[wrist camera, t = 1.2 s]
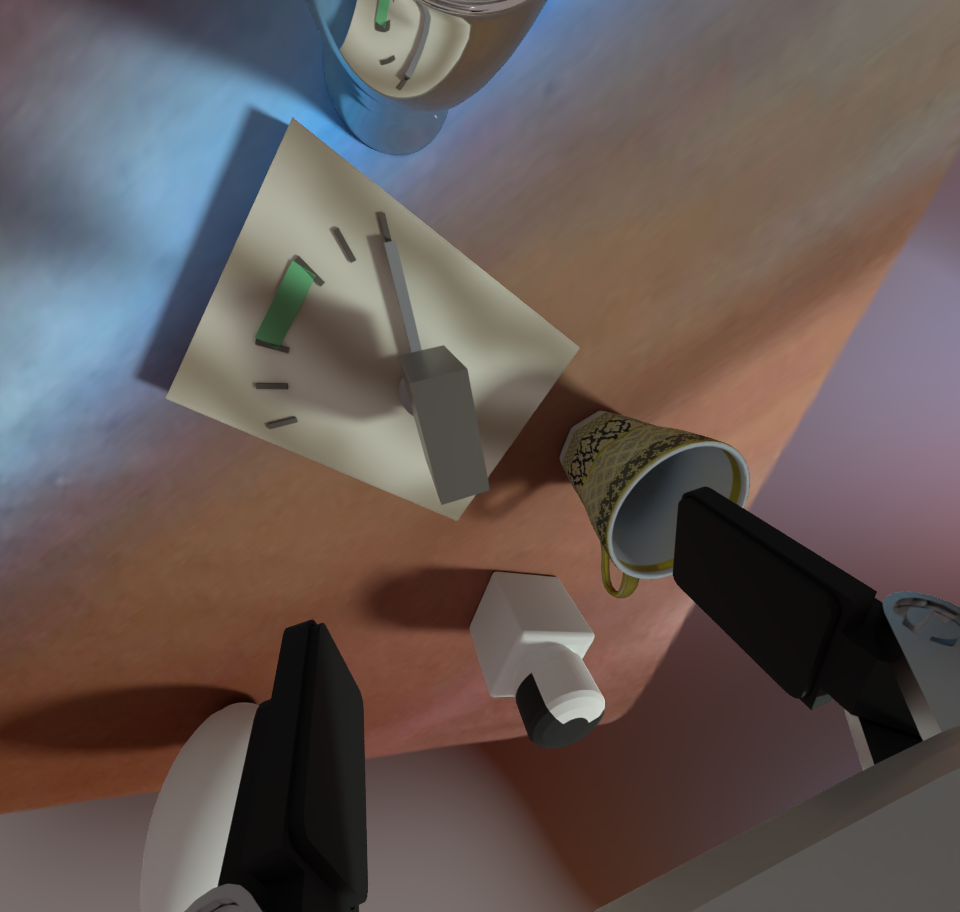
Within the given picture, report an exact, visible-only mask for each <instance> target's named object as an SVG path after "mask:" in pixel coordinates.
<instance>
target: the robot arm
mask: <svg viewBox="0 0 960 912" xmlns="http://www.w3.org/2000/svg"><path fill="white" fill-rule="evenodd" d="M673 577H674V580H675V582H676V583H677V585H678V586H679V587H680V588H681V589H682V590H683V591H684V592H685V593H686V594H687V595H688V596H689V597H690V598H691V599H692V600H693V601H694V602H695V603H696V604H697V605H698V606H699V607H700V608H701V609H702V610H703V611H704V612H705V613H707V615H708V616H709V617H711V618H712V620H713V621H714V622H716V623H717V624H718V625H719V626H720V627H721V628H722V629H723V630H724V631H725V632H726V633H727V634H728V635H729V636H730V637H731V638H732V639H733V640H734V641H735V642H736V643H737V644H738V645H739V646H740V647H741V648H742V649H743V650H744V651H745V652H746V653H747V654H748V655H749V656H750V657H751V658H752V659H753V660H754V661H755V662H756V663H757V664H758V665H759V666H760V667H761V668H762V669H763V670H764V671H765V672H766V673H767V674H768V675H769V676H770V677H771V678H772V679H773V680H774V681H775V682H777V684H778V685H779V686H781V687H782V689H784V690H785V691H786V692H787V693H788V694H789V695H791V696H792V697H794V698H799V699H800V700H801V701H802V702H804V704H805V705H807V706H808V707H809V708H810V709H811V710H813V709H815V708H817V707H819V706H821V705H823V704H825V703H828V702H830V701H831V699H832V698H833V699H834V700H835V701H837V702H838V703H839V704H840V705H841V706H842V707H843V708H844V710H845V714H846V717H847V721H848V724H849V727H850V730H851V733H852V736H853V740H854V743H855V746H856V750H857V753H858V756H859V759H860V763H861V766H862V769H863V771H862V772H860V773H858V774H856V775H854V776H852V777H850V778H848V779H846V780H844V781H842V782H840V783H838V784H837V785H835V786H833V787H831V788H829V789H827V790H825V791H823V792H821V793H819V794H817V795H815V796H813V797H811V798H809V799H807V800H805V801H803V802H802V803H800V804H798V805H796V806H794V807H792V808H790V809H788V810H786V811H784V812H782V813H781V814H778V815H776V816H775V817H773V818H771V819H769V820H767V821H765V822H763V823H761V824H759V825H757V826H755V827H753V828H751V829H750V830H748V831H746V832H744V833H742V834H740V835H738V836H736V837H734V838H732V839H730V840H729V841H727V842H725V843H723V844H721V845H719V846H717V847H715V848H713V849H711V850H709V851H707V852H706V853H704V854H702V855H700V856H698V857H696V858H694V859H692V860H690V861H688V862H686V863H685V864H683V865H681V866H679V867H677V868H675V869H673V870H671V871H669V872H667V873H665V874H664V875H662V876H660V877H658V878H656V879H654V880H652V881H650V882H648V883H646V884H645V885H643V886H641V887H639V888H637V889H635V890H633V891H631V892H629V893H627V894H626V895H624V896H622V897H620V898H618V899H616V900H614V901H613V902H611V903H609V904H607V905H605V906H603V907H601V908H599V909H597V910H596V911H594V912H960V607H958V606H956V605H954V604H952V603H950V602H948V601H945V600H943V599H940V598H937V597H934V596H930V595H926V594H921V593H916V592H898V593H892V594H891V595H889V596H887V597H886V598H885V600H884V602H883V603H882V602H880V601H879V600H877V599H876V598H874V597H875V595H876V593H877V592H876V591H875V590H873V589H872V588H870V587H868V586H867V585H865V584H864V583H862V582H860V581H859V580H857V579H856V578H854V577H853V576H851V575H849V574H848V573H846V572H844V571H843V570H841V569H840V568H838V567H836V566H835V565H833V564H831V563H830V562H829V561H827V560H825V559H824V558H822V557H821V556H819V555H817V554H816V553H814V552H813V551H811V550H809V549H808V548H806V547H804V546H803V545H801V544H800V543H798V542H796V541H795V540H793V539H792V538H790V537H788V536H787V535H785V534H784V533H782V532H780V531H779V530H777V529H776V528H774V527H772V526H771V525H769V524H768V523H766V522H764V521H763V520H761V519H760V518H758V517H756V516H755V515H753V514H752V513H750V512H748V511H747V510H745V509H744V508H742V507H740V506H739V505H737V504H736V503H734V502H732V501H731V500H729V499H728V498H726V497H724V496H723V495H721V494H720V493H718V492H716V491H715V490H713V489H712V488H709V487H705V486H704V487H701V488H698V489H695V490H692V491H689V492H686V493H684V494H683V495H682V499H681V500H680V501H679V503H678V512H677V524H676V537H675V550H674V562H673ZM367 893H368V870H367V829H366V789H365V749H364V709H363V700H362V696H361V692H360V690H359V688H358V686H357V684H356V682H355V681H354V679H353V677H352V675H351V673H350V671H349V669H348V667H347V665H346V663H345V661H344V660H343V658H342V656H341V654H340V652H339V650H338V648H337V646H336V644H335V642H334V640H333V639H332V637H331V635H330V633H329V631H328V629H327V627H326V625H325V624H324V623H320V624H318V625H317V624H316V622H315V621H314V620H309V621H306V622H303V623H300V624H297V625H294V626H291V627H288V628H286V629H285V631H284V634H283V638H282V644H281V649H280V654H279V660H278V665H277V670H276V676H275V681H274V686H273V692H272V697H271V699H270V700H267V701H265V702H263V703H261V704H260V705H259V707H258V708H257V710H256V713H255V717H254V720H253V725H252V729H251V734H250V739H249V743H248V748H247V753H246V757H245V762H244V766H243V771H242V776H241V780H240V785H239V789H238V794H237V799H236V803H235V808H234V812H233V817H232V822H231V826H230V831H229V835H228V840H227V845H226V849H225V854H224V858H223V863H222V868H221V872H220V877H219V882H218V886H217V887H216V888H213V889H211V890H210V891H208V892H207V893H205V894H204V895H202V896H201V897H199V898H198V899H197V900H195V901H194V902H193V903H192V904H191V905H190V906H189V907H188V908H187V909H186V910H185V911H184V912H359V904H361V903H364V902H365V901H366V899H367Z"/></svg>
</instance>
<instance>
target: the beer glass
mask: <svg viewBox="0 0 960 912" xmlns="http://www.w3.org/2000/svg"><path fill="white" fill-rule="evenodd" d="M305 1H306V4H307V6H308V8H309V11H310V13H311V15H312V18H313V20H314V22H315V25H316V27H317V29H318V31H319V33H320V35H321V37H322V39H323V41H324V48H323V66H324V74H325V80H326V84H327V88H328V91H329V94H330V97H331V99H332V102H333V104H334V106H335V108H336V110H337V112H338V114H339V116H340V117H341V119H342V120H343V122H344V123H345V124H346V126H347V127H348V128H349V129H350V130H351V132H352V133H353V134H354V135H355V136H356V137H357V138H359V139H360V140H361V141H362V142H364V143H365V144H366V145H368V146H369V147H371V148H373V149H375V150H377V151H380V152H382V153H386V154H390V155H407V154H411V153H415V152H417V151H419V150H421V149H423V148H424V147H426V146H427V145H428V144H430V143H431V142H432V141H433V140H434V138H435V137H436V136H437V135H438V133H439V132H440V130H441V128H442V126H443V124H444V122H445V119H446V117H447V114H448V111H449V109H451V108H453V107H455V106H457V105H459V104H460V103H462V102H464V101H465V100H467V99H468V98H470V97H471V96H472V95H474V94H475V93H477V92H478V91H479V90H481V89H482V88H483V87H484V86H485V85H486V84H487V83H488V82H489V81H490V80H491V79H492V78H493V77H494V76H495V74H496V73H497V72H498V71H499V70H500V69H501V68H502V67H503V66H504V64H505V63H506V62H507V61H508V60H509V59H510V57H511V56H512V55H513V53H514V52H515V50H516V49H517V48H518V46H519V45H520V43H521V42H522V40H523V39H524V37H525V36H526V35H527V33H528V32H529V30H530V29H531V27H532V26H533V24H534V22H535V21H536V19H537V17H538V16H539V14H540V12H541V11H542V9H543V7H544V6H545V4H546V2H547V0H305Z"/></svg>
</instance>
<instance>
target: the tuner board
mask: <svg viewBox="0 0 960 912" xmlns="http://www.w3.org/2000/svg"><path fill="white" fill-rule="evenodd" d="M391 241H396V244H397V248H398V252H399V256H400V260H401V265H402V269H403V273H404V277H405V282H406V286H407V290H408V294H409V298H410V303H411V307H412V311H413V315H414V319H415V324H416V328H417V332H418V336H419V340H420V345H421V349H422V350H425V349H429V348H434V347H438V346H442V345H444V346H445V347H446V348H447V349H448V350H449V351H450V352H451V353H452V354H453V355H454V356H455V357H456V358H457V359H458V360H459V361H460V362H461V363H462V364H463V365H464V366H465V367H466V368H467V369H468V374H469V380H470V385H471V391H472V396H473V401H474V407H475V412H476V417H477V423H478V428H479V434H480V439H481V444H482V450H483V455H484V460H485V466H486V471H487V477H489V475H490V474H491V473H492V471H493V470H494V468H495V467H496V466H497V464H498V463H499V461H500V460H501V458H502V457H503V456H504V454H505V453H506V451H507V450H508V449H509V447H510V446H511V444H512V443H513V442H514V440H515V439H516V437H517V436H518V434H519V433H520V432H521V430H522V429H523V427H524V426H525V425H526V423H527V422H528V420H529V419H530V418H531V416H532V415H533V413H534V412H535V410H536V409H537V408H538V406H539V405H540V403H541V402H542V401H543V399H544V398H545V396H546V395H547V394H548V392H549V391H550V389H551V388H552V387H553V385H554V384H555V382H556V381H557V379H558V378H559V377H560V375H561V374H562V372H563V371H564V370H565V368H566V367H567V365H568V364H569V363H570V361H571V360H572V358H573V357H574V355H575V354H576V353H577V351H578V350H579V348H580V347H578V346H577V345H576V344H575V343H573V342H572V341H571V340H570V339H568V338H567V337H566V336H565V335H563V334H562V333H561V332H560V331H558V330H557V329H556V328H555V327H553V326H552V325H551V324H550V323H548V322H547V321H546V320H545V319H543V318H542V317H541V316H540V315H538V314H537V313H536V312H535V311H533V310H532V309H531V308H530V307H528V306H527V305H526V304H525V303H523V302H522V301H521V300H520V299H518V298H517V297H516V296H515V295H513V294H512V293H511V292H510V291H508V290H507V289H506V288H505V287H503V286H502V285H501V284H500V283H498V282H497V281H496V280H495V279H493V278H492V277H491V276H490V275H488V274H487V273H486V272H485V271H484V270H482V269H481V268H480V267H479V266H477V265H476V264H475V263H474V262H472V261H471V260H470V259H469V258H467V257H466V256H465V255H464V254H462V253H461V252H460V251H459V250H457V249H456V248H455V247H454V246H452V245H451V244H450V243H449V242H447V241H446V240H445V239H444V238H442V237H441V236H440V235H439V234H437V233H436V232H435V231H434V230H432V229H431V228H430V227H429V226H427V225H426V224H425V223H424V222H422V221H421V220H420V219H419V218H417V217H416V216H415V215H414V214H412V213H411V212H410V211H409V210H407V209H406V208H405V207H404V206H402V205H401V204H400V203H399V202H397V201H396V200H395V199H394V198H392V197H391V196H390V195H389V194H387V193H386V192H385V191H384V190H382V189H381V188H380V187H379V186H377V185H376V184H375V183H374V182H372V181H371V180H370V179H369V178H367V177H366V176H365V175H364V174H362V173H361V172H360V171H359V170H357V169H356V168H355V167H354V166H353V165H351V164H350V163H349V162H348V161H346V160H345V159H344V158H343V157H341V156H340V155H339V154H338V153H336V152H335V151H334V150H333V149H331V148H330V147H329V146H328V145H326V144H325V143H324V142H323V141H321V140H320V139H319V138H318V137H316V136H315V135H314V134H313V133H311V132H310V131H309V130H308V129H306V128H305V127H304V126H303V125H301V124H300V123H299V122H298V121H296V120H295V119H294V118H293V117H292V120H291V122H290V124H289V126H288V128H287V131H286V133H285V135H284V137H283V139H282V142H281V144H280V146H279V148H278V151H277V153H276V155H275V157H274V159H273V162H272V164H271V166H270V168H269V171H268V173H267V175H266V177H265V179H264V182H263V184H262V186H261V188H260V190H259V193H258V195H257V197H256V199H255V202H254V204H253V206H252V208H251V210H250V213H249V215H248V217H247V219H246V221H245V224H244V226H243V228H242V230H241V233H240V235H239V237H238V239H237V241H236V244H235V246H234V248H233V250H232V252H231V255H230V257H229V259H228V261H227V264H226V266H225V268H224V270H223V272H222V275H221V277H220V279H219V281H218V284H217V286H216V288H215V290H214V292H213V295H212V297H211V299H210V301H209V303H208V306H207V308H206V310H205V312H204V315H203V317H202V319H201V321H200V323H199V326H198V328H197V330H196V332H195V334H194V337H193V339H192V341H191V343H190V346H189V348H188V350H187V352H186V354H185V357H184V359H183V361H182V363H181V365H180V368H179V370H178V372H177V374H176V377H175V379H174V381H173V383H172V385H171V388H170V390H169V392H168V394H167V397H166V399H168V400H171V401H173V402H175V403H178V404H180V405H183V406H185V407H187V408H190V409H192V410H194V411H197V412H199V413H202V414H204V415H206V416H209V417H211V418H213V419H216V420H218V421H221V422H223V423H225V424H228V425H230V426H232V427H235V428H237V429H240V430H242V431H244V432H247V433H249V434H251V435H254V436H256V437H259V438H261V439H263V440H266V441H268V442H270V443H273V444H275V445H278V446H280V447H282V448H285V449H287V450H290V451H292V452H294V453H297V454H299V455H301V456H304V457H306V458H309V459H311V460H313V461H316V462H318V463H320V464H323V465H325V466H328V467H330V468H332V469H335V470H337V471H339V472H342V473H344V474H347V475H349V476H351V477H354V478H356V479H358V480H361V481H363V482H366V483H368V484H370V485H373V486H375V487H377V488H380V489H382V490H385V491H387V492H389V493H392V494H394V495H396V496H399V497H401V498H404V499H406V500H408V501H411V502H413V503H416V504H418V505H420V506H423V507H425V508H427V509H430V510H432V511H435V512H437V513H439V514H442V515H444V516H446V517H449V518H451V519H454V520H456V521H458V519H459V518H460V516H461V515H462V513H463V512H464V511H465V509H466V508H467V506H468V505H469V504H470V502H471V501H472V499H473V498H474V497H475V495H473V496H470V497H467V498H464V499H460V500H457V501H454V502H450V503H447V504H444V505H441V502H440V499H439V497H438V494H437V491H436V488H435V485H434V482H433V479H432V477H431V474H430V471H429V468H428V465H427V462H426V459H425V456H424V452H423V448H422V445H421V441H420V437H419V434H418V430H417V426H416V422H415V419H414V416H412V415H411V414H409V413H408V412H407V411H406V409H405V408H404V406H403V404H402V401H401V398H400V395H399V390H398V387H399V381H400V378H401V376H402V370H401V367H400V363H399V359H398V356H400V355H404V354H408V353H411V351H410V347H409V343H408V339H407V335H406V331H405V327H404V323H403V319H402V315H401V311H400V307H399V303H398V299H397V295H396V291H395V287H394V283H393V279H392V275H391V271H390V267H389V263H388V259H387V255H386V251H385V247H384V243H386V242H391Z"/></svg>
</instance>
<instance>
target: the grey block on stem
mask: <svg viewBox="0 0 960 912" xmlns="http://www.w3.org/2000/svg"><path fill="white" fill-rule="evenodd" d="M384 247H385V251H386V255H387V259H388V263H389V267H390V271H391V275H392V279H393V283H394V287H395V291H396V295H397V299H398V303H399V307H400V311H401V315H402V319H403V323H404V327H405V331H406V335H407V339H408V343H409V347H410V351H411V353H408V354H404V355H400V356H398V359H399V363H400V367H401V370H402V376H401V378H400V381H399V387H398V390H399V395H400V398H401V401H402V404H403V406H404V408H405V409H406V411H407V412H408V413H409V414H411V415H412V416H414V419H415V422H416V426H417V430H418V434H419V437H420V441H421V445H422V448H423V452H424V456H425V459H426V462H427V465H428V468H429V471H430V474H431V477H432V479H433V482H434V485H435V488H436V491H437V494H438V497H439V499H440V502H441V505H444V504H447V503H450V502H454V501H457V500H460V499H464V498H467V497H470V496H473V495H477V494H480V493H483V492H487V491H490V487H489V482H488V477H487V471H486V466H485V460H484V455H483V450H482V444H481V439H480V434H479V428H478V423H477V417H476V412H475V407H474V401H473V396H472V391H471V385H470V380H469V374H468V369H467V368H466V367H465V366H464V365H463V364H462V363H461V362H460V361H459V360H458V359H457V358H456V357H455V356H454V355H453V354H452V353H451V352H450V351H449V350H448V349H447V348H446V347H445V346H444V345H442V346H438V347H434V348H429V349H425V350H422V349H421V345H420V340H419V336H418V332H417V328H416V324H415V319H414V315H413V311H412V307H411V303H410V298H409V294H408V290H407V286H406V282H405V277H404V273H403V269H402V265H401V260H400V256H399V252H398V248H397V244H396V241H391V242H386V243H384Z"/></svg>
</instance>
